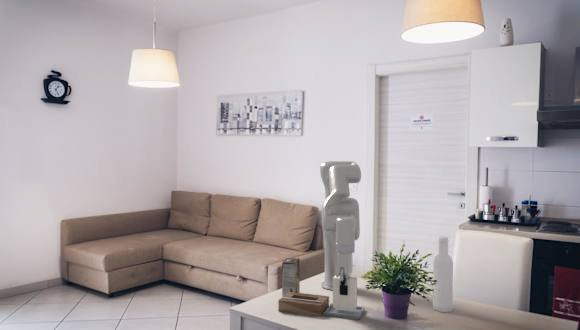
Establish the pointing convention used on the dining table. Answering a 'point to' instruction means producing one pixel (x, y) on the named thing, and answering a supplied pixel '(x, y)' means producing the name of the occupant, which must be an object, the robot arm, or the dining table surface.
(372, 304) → the dining table surface
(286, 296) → the brown wooden flat box
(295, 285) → the tall grey box
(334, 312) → the grey tray
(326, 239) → the robot arm
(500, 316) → the dining table surface
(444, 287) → the bottle
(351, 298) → the white block
